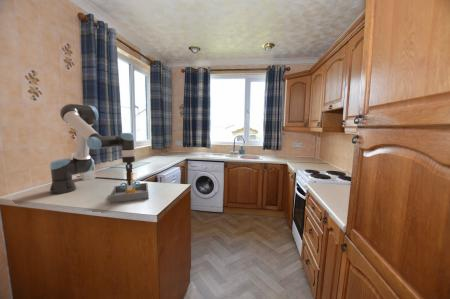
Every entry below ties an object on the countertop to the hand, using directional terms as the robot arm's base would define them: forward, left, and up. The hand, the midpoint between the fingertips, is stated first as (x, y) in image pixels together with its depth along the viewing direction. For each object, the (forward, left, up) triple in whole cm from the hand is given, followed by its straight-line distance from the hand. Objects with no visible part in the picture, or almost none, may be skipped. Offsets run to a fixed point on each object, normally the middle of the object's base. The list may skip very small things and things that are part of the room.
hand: (130, 187), depth 137 cm
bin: (0, 0, -6) cm, 6 cm away
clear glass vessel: (-67, -39, -6) cm, 78 cm away
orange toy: (0, 0, -5) cm, 5 cm away
